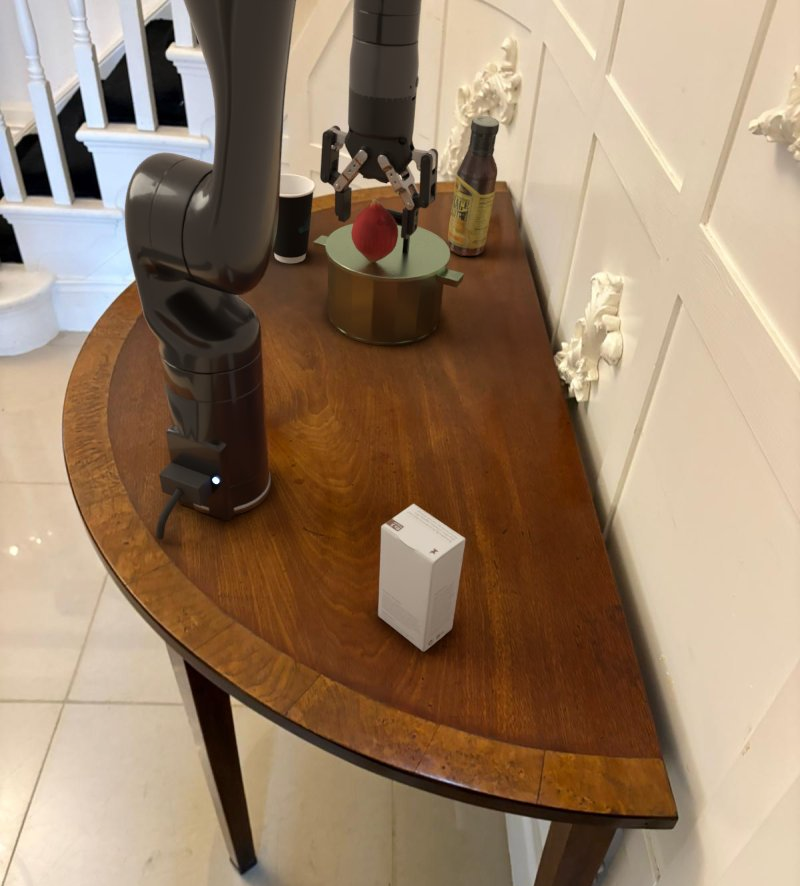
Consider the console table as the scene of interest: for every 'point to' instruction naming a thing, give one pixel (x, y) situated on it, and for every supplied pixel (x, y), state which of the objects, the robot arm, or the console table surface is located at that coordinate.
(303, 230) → the dixie cup
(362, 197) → the console table surface
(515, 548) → the console table surface
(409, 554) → the cosmetic box
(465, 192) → the sauce bottle
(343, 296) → the pot
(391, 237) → the onion
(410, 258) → the lid
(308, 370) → the console table surface
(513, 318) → the console table surface
